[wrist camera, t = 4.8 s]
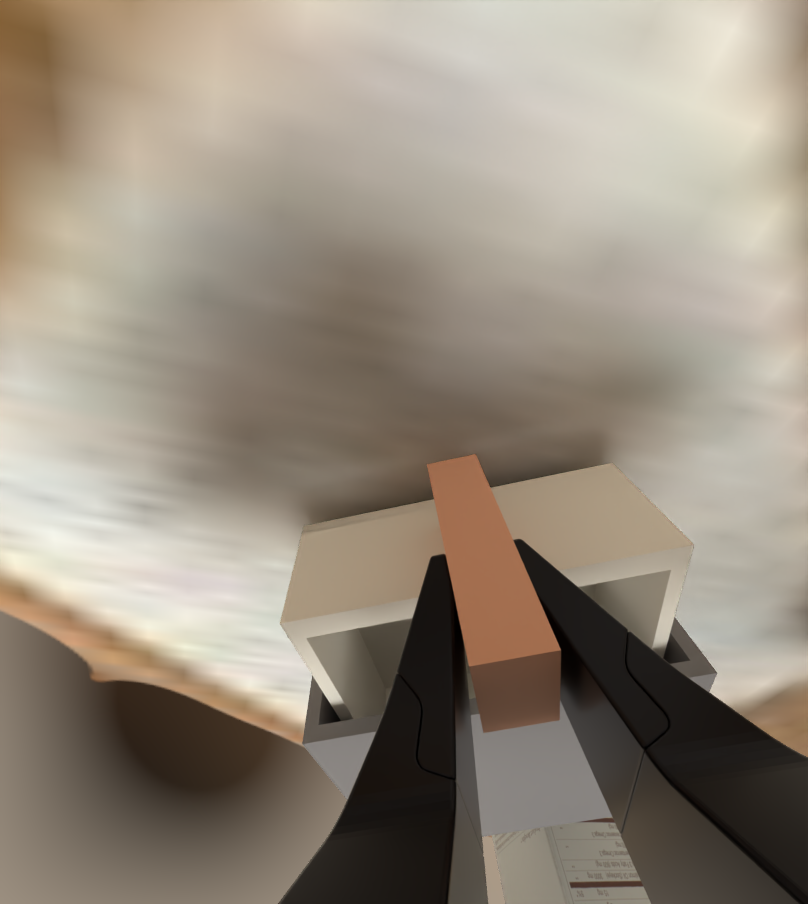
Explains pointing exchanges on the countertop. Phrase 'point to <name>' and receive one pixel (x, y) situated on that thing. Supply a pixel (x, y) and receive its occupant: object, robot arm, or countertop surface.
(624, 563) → the tray
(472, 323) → the countertop surface
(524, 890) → the supplement box
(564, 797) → the mailer sleeve
